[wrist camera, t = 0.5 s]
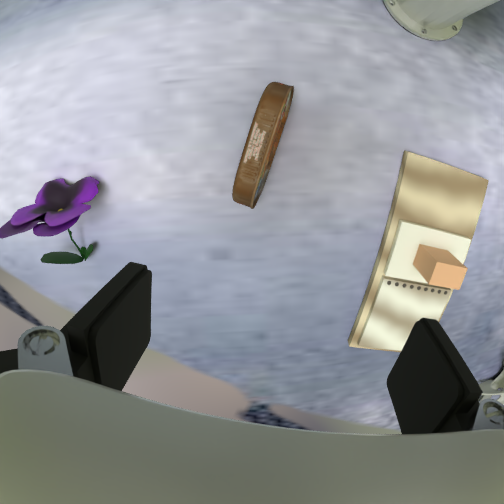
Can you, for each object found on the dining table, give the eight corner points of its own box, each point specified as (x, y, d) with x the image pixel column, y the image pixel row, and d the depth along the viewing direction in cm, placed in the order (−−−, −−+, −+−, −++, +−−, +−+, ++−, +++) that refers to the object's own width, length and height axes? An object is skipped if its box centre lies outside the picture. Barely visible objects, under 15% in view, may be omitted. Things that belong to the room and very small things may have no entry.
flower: (135, 228, 50) (110, 161, 40) (103, 306, 41) (59, 241, 31) (68, 226, 52) (39, 168, 41) (33, 293, 42) (-12, 237, 32)
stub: (399, 219, 39) (419, 236, 32) (468, 237, 38) (492, 255, 32) (383, 272, 42) (398, 297, 35) (450, 285, 41) (470, 308, 35)
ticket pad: (404, 150, 37) (411, 152, 34) (483, 178, 36) (492, 181, 34) (347, 340, 48) (350, 350, 46) (420, 348, 48) (425, 357, 45)
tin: (259, 201, 42) (252, 218, 34) (236, 193, 42) (224, 209, 34) (295, 92, 36) (298, 82, 28) (271, 84, 36) (267, 73, 28)
